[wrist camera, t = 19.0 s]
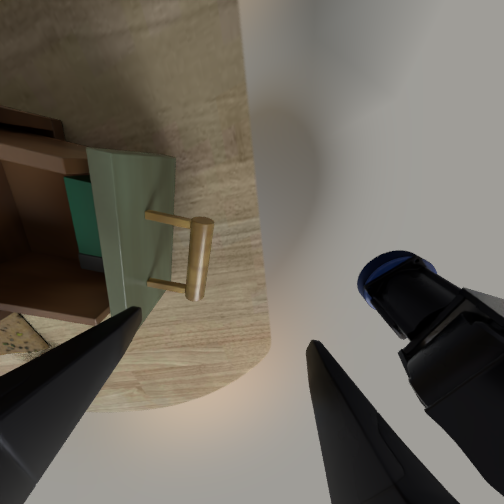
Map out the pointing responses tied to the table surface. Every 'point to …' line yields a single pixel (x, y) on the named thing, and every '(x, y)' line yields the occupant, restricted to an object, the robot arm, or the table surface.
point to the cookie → (19, 336)
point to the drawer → (109, 228)
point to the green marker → (84, 221)
